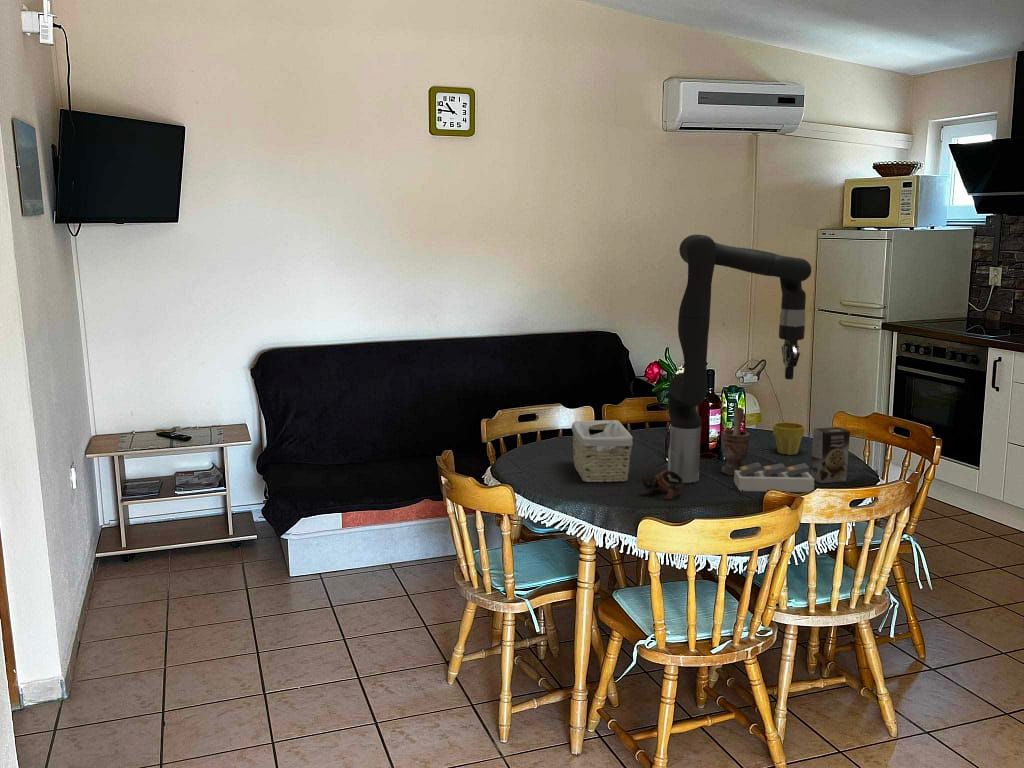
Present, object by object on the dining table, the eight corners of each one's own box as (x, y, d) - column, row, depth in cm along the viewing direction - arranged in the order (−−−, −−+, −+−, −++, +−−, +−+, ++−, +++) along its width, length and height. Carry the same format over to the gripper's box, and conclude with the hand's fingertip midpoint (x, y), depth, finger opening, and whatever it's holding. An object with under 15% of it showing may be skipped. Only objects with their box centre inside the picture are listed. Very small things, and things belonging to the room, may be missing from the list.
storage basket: (569, 462, 304) (570, 419, 301) (618, 461, 305) (619, 418, 302) (580, 484, 280) (581, 438, 278) (633, 483, 282) (634, 437, 279)
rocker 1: (743, 475, 275) (741, 471, 275) (740, 471, 280) (738, 466, 279) (762, 470, 275) (761, 465, 274) (759, 465, 279) (758, 461, 279)
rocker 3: (790, 476, 275) (789, 471, 274) (786, 471, 279) (785, 467, 279) (810, 471, 274) (809, 466, 274) (806, 467, 278) (805, 462, 278)
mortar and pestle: (715, 465, 301) (718, 406, 297) (742, 465, 300) (745, 406, 296) (722, 476, 289) (725, 414, 285) (749, 476, 289) (753, 414, 285)
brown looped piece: (670, 489, 278) (682, 470, 273) (677, 512, 270) (689, 492, 265) (634, 482, 275) (645, 462, 270) (639, 504, 267) (651, 484, 263)
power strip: (739, 491, 274) (739, 476, 273) (733, 482, 282) (734, 468, 281) (813, 492, 273) (814, 477, 272) (806, 484, 281) (807, 469, 280)
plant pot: (768, 448, 322) (770, 421, 320) (798, 448, 321) (800, 421, 319) (775, 456, 311) (777, 428, 310) (806, 456, 311) (808, 428, 309)
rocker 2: (766, 475, 275) (765, 470, 275) (762, 470, 279) (762, 466, 279) (786, 471, 274) (785, 466, 274) (782, 467, 279) (782, 462, 278)
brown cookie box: (821, 483, 282) (824, 432, 278) (809, 477, 288) (812, 427, 284) (847, 481, 284) (850, 431, 281) (834, 475, 290) (838, 426, 287)
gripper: (774, 320, 287) (771, 374, 291) (785, 326, 274) (781, 383, 278) (799, 320, 287) (795, 375, 290) (810, 326, 274) (806, 383, 277)
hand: (788, 378), depth 284 cm, fingers closed
